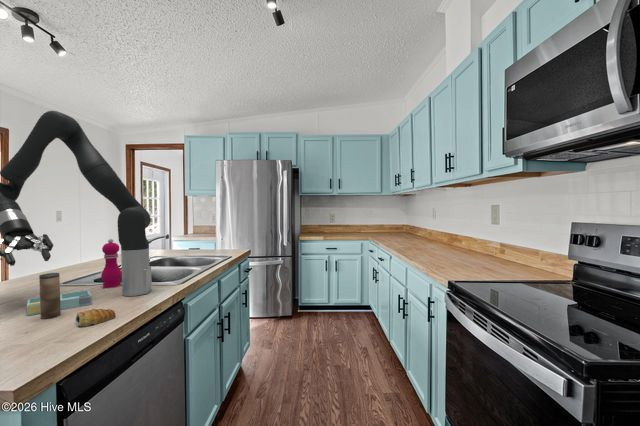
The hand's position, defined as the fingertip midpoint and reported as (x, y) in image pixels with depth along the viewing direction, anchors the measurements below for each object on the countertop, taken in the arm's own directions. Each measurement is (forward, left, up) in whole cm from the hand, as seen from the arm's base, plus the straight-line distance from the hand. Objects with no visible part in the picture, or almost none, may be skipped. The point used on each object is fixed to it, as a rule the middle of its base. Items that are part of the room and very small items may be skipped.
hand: (31, 261), depth 98 cm
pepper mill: (-12, -28, -16) cm, 35 cm away
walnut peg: (-9, +7, -16) cm, 20 cm away
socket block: (-6, -3, -16) cm, 17 cm away
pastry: (-24, +16, -17) cm, 33 cm away
